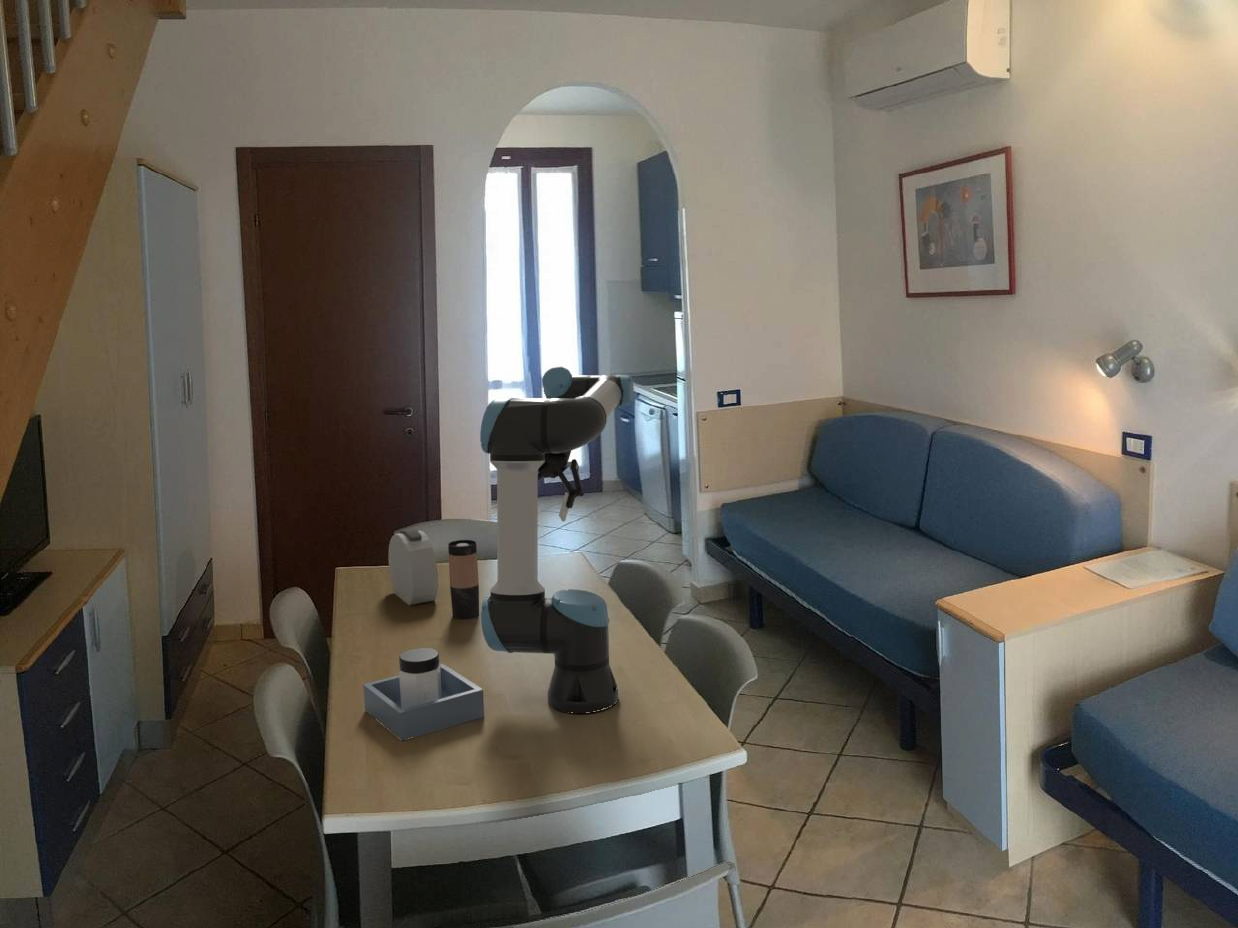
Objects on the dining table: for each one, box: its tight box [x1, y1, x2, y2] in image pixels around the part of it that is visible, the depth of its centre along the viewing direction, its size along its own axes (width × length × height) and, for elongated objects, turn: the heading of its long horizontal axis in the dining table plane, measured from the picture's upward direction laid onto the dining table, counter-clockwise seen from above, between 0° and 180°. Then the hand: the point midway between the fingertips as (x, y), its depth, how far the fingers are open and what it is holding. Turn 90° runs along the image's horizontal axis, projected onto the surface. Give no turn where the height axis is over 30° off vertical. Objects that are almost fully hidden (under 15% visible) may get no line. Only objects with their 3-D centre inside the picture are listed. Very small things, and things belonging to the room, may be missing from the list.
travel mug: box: [447, 539, 480, 620], centre depth 276 cm, size 8×8×20 cm
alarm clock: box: [387, 528, 439, 606], centre depth 292 cm, size 21×8×20 cm, turn 30°
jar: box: [398, 647, 442, 709], centre depth 213 cm, size 9×8×12 cm
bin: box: [363, 663, 485, 740], centre depth 214 cm, size 18×18×6 cm
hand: (535, 516), depth 247 cm, fingers open, 13 cm apart
